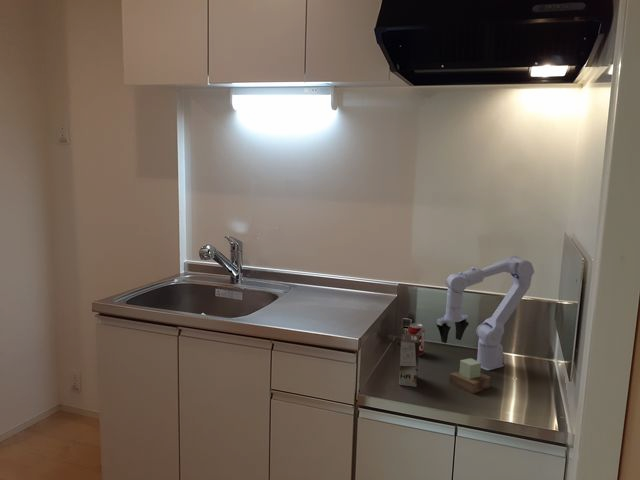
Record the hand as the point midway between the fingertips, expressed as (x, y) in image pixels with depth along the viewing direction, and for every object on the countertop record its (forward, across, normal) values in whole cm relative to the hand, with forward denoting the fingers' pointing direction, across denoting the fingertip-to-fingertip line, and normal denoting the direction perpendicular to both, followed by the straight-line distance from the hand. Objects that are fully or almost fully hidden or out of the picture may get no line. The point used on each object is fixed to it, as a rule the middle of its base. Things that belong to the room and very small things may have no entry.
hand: (451, 340), depth 201 cm
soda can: (+11, +2, -17) cm, 20 cm away
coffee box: (+11, +22, +2) cm, 25 cm away
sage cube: (+7, +6, +15) cm, 18 cm away
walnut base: (+11, +6, +16) cm, 20 cm away
